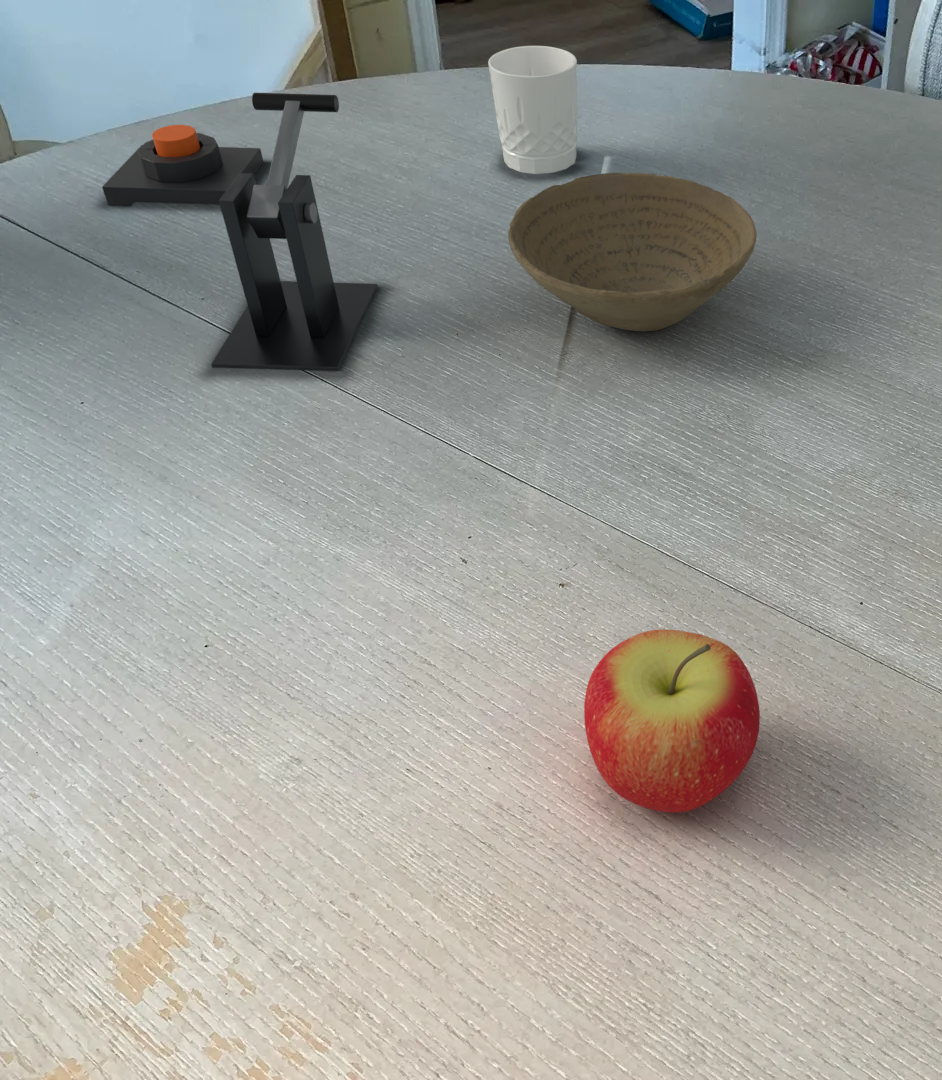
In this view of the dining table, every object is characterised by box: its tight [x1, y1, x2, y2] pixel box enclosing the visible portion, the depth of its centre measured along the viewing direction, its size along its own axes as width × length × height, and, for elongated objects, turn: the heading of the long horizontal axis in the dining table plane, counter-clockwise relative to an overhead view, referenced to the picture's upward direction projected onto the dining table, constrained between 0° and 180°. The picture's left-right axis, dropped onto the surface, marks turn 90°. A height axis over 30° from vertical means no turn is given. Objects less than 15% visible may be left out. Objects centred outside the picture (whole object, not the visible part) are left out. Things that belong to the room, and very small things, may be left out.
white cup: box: [487, 45, 578, 175], centre depth 109 cm, size 8×8×10 cm
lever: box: [247, 92, 340, 240], centre depth 84 cm, size 12×6×2 cm, turn 179°
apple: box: [583, 629, 761, 813], centre depth 56 cm, size 8×8×10 cm
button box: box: [101, 132, 265, 207], centre depth 106 cm, size 11×9×4 cm
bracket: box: [211, 173, 379, 372], centre depth 85 cm, size 12×9×12 cm
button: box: [151, 124, 200, 157], centre depth 104 cm, size 4×4×2 cm
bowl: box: [507, 172, 758, 332], centre depth 89 cm, size 18×18×8 cm
